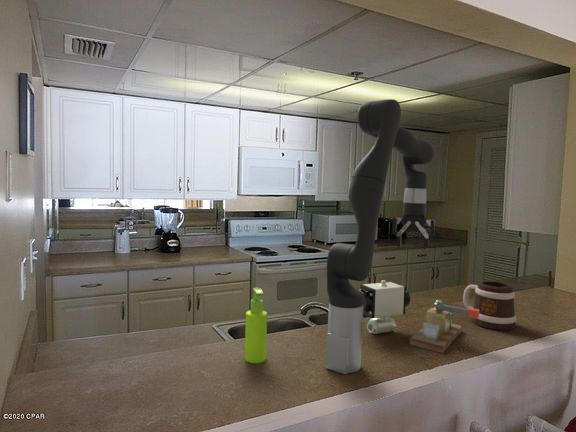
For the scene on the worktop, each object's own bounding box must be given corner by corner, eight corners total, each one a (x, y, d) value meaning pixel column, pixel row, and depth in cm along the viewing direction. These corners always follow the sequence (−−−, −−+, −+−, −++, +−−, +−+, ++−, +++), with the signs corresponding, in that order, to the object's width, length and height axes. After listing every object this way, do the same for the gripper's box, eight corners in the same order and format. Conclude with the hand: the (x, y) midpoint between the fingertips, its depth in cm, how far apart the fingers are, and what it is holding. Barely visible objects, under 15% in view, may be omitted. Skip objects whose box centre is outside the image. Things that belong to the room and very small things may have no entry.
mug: (524, 327, 146) (527, 286, 145) (501, 334, 138) (503, 291, 137) (474, 312, 163) (476, 275, 162) (450, 317, 155) (452, 279, 154)
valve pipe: (439, 341, 124) (440, 319, 123) (419, 337, 127) (420, 315, 127) (453, 326, 138) (454, 306, 138) (435, 322, 142) (436, 303, 141)
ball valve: (392, 324, 145) (395, 275, 144) (409, 332, 137) (411, 281, 136) (350, 330, 137) (352, 279, 136) (365, 339, 130) (367, 284, 128)
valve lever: (432, 310, 132) (433, 300, 132) (435, 308, 134) (435, 299, 134) (477, 319, 124) (477, 308, 124) (479, 316, 127) (479, 306, 126)
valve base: (442, 353, 120) (443, 346, 120) (409, 344, 126) (410, 338, 126) (461, 331, 140) (461, 325, 140) (432, 324, 146) (432, 319, 146)
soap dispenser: (247, 365, 108) (249, 292, 107) (243, 355, 115) (244, 285, 113) (268, 363, 109) (270, 291, 108) (263, 353, 116) (265, 285, 115)
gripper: (392, 201, 139) (389, 247, 140) (435, 202, 134) (433, 251, 135) (395, 200, 146) (393, 245, 147) (437, 202, 141) (434, 248, 142)
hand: (412, 248), depth 141 cm, fingers open, 8 cm apart
